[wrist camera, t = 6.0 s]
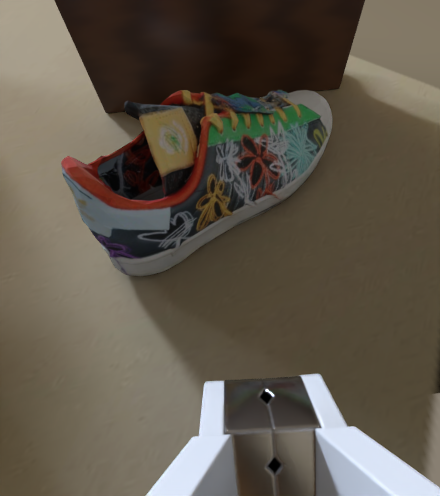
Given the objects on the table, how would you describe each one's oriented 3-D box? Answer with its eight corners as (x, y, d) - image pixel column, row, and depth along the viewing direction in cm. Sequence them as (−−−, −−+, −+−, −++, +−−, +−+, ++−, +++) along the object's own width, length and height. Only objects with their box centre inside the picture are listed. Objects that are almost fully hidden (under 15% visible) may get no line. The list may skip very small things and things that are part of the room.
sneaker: (350, 152, 24) (405, 16, 16) (151, 311, 18) (71, 225, 10) (286, 117, 27) (303, -11, 19) (99, 242, 21) (6, 133, 13)
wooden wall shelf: (332, 66, 32) (380, -125, 21) (344, 88, 30) (406, -116, 18) (108, 90, 33) (37, -80, 22) (101, 113, 31) (16, -65, 19)
